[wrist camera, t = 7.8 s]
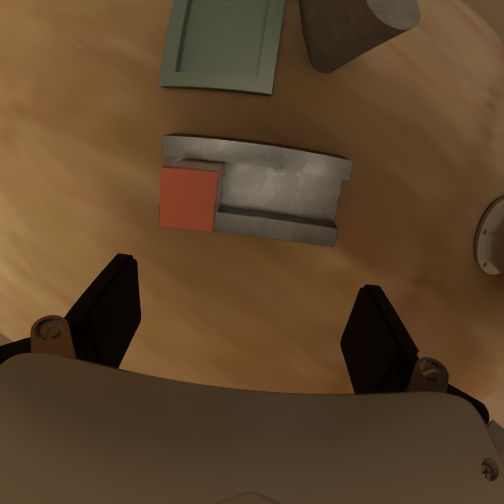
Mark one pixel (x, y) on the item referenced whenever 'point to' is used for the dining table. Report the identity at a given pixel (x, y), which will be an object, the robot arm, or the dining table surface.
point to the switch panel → (269, 186)
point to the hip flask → (352, 27)
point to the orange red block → (191, 194)
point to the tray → (222, 45)
